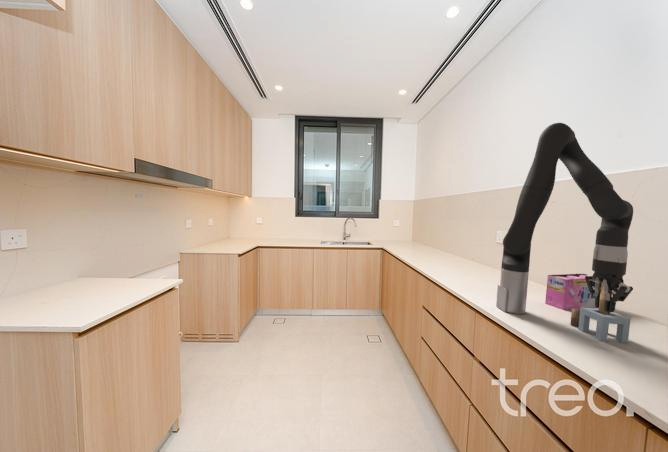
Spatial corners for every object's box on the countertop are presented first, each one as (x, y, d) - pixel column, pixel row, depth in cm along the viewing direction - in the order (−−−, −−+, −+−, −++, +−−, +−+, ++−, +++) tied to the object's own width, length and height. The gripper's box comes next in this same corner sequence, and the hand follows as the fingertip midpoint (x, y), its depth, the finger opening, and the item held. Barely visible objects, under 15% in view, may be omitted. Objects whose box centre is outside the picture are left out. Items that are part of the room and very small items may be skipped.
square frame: (600, 341, 79) (603, 316, 78) (578, 329, 87) (580, 307, 86) (627, 343, 78) (630, 318, 78) (602, 331, 86) (604, 308, 86)
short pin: (574, 327, 89) (576, 311, 88) (568, 323, 91) (569, 308, 91) (582, 327, 88) (583, 311, 88) (575, 324, 91) (577, 308, 91)
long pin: (603, 318, 81) (606, 283, 80) (595, 315, 84) (599, 280, 83) (611, 319, 81) (615, 283, 80) (603, 315, 83) (607, 281, 83)
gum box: (582, 300, 118) (584, 273, 117) (603, 307, 110) (606, 277, 110) (544, 303, 113) (546, 274, 112) (564, 310, 105) (566, 279, 104)
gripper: (578, 254, 88) (573, 301, 89) (619, 262, 74) (613, 317, 75) (600, 255, 88) (596, 303, 89) (646, 264, 74) (640, 319, 75)
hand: (604, 309), depth 82 cm, fingers closed on long pin, 2 cm apart
